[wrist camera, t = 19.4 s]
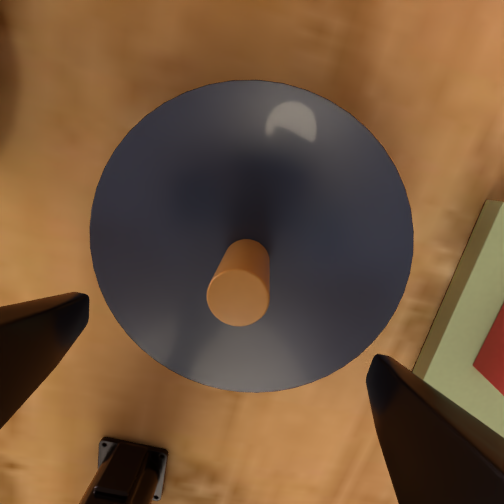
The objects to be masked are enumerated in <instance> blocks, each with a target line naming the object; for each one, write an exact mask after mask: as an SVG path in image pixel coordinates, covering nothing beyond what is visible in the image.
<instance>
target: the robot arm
mask: <svg viewBox="0 0 504 504" xmlns="http://www.w3.org/2000/svg"><path fill="white" fill-rule="evenodd" d="M88 319H89V296H88V295H86V294H83V293H78V292H71V293H66V294H61V295H57V296H52V297H47V298H42V299H37V300H32V301H27V302H22V303H17V304H12V305H8V306H3V307H0V429H1V428H2V427H3V426H4V424H5V423H6V422H7V421H8V420H9V419H10V418H11V417H12V416H13V414H14V413H15V412H16V411H17V410H18V409H19V408H20V407H21V406H22V404H23V403H24V402H25V401H26V400H27V399H28V398H29V397H30V395H31V394H32V393H33V392H34V391H35V390H36V389H37V388H38V387H39V385H40V384H41V383H42V382H43V381H44V380H45V379H46V378H47V377H48V375H49V374H50V373H51V372H52V371H53V370H54V368H55V367H56V366H57V365H58V363H59V362H60V361H61V360H62V358H63V357H64V355H65V354H66V353H67V351H68V350H69V349H70V347H71V346H72V345H73V343H74V342H75V340H76V339H77V338H78V336H79V335H80V334H81V332H82V331H83V330H84V328H85V327H86V325H87V323H88ZM366 385H367V390H368V395H369V399H370V404H371V409H372V414H373V419H374V424H375V428H376V432H377V436H378V439H379V442H380V446H381V449H382V452H383V455H384V458H385V461H386V465H387V468H388V471H389V474H390V477H391V480H392V484H393V487H394V490H395V493H396V496H397V500H398V503H399V504H504V437H502V436H501V435H499V434H498V433H497V432H495V431H494V430H492V429H491V428H490V427H488V426H487V425H485V424H484V423H483V422H481V421H480V420H478V419H477V418H476V417H474V416H473V415H471V414H470V413H469V412H467V411H466V410H464V409H463V408H462V407H460V406H459V405H457V404H456V403H454V402H453V401H452V400H450V399H449V398H447V397H446V396H445V395H443V394H442V393H440V392H439V391H438V390H436V389H435V388H433V387H432V386H431V385H429V384H428V383H426V382H425V381H424V380H422V379H421V378H419V377H418V376H417V375H415V374H414V373H412V372H411V371H410V370H408V369H407V368H405V367H404V366H403V365H401V364H400V363H398V362H397V361H396V360H394V359H393V358H391V357H389V356H385V355H381V354H377V355H375V356H374V358H373V360H372V363H371V365H370V368H369V371H368V373H367V377H366ZM167 460H168V451H167V450H166V449H163V448H158V447H153V446H148V445H143V444H138V443H133V442H129V441H124V440H119V439H114V438H109V437H103V438H102V439H101V441H100V443H99V455H98V471H97V473H96V474H95V476H94V478H93V480H92V481H91V483H90V485H89V487H88V488H87V490H86V492H85V494H84V496H83V497H82V499H81V501H80V503H79V504H151V502H152V500H154V501H159V500H160V499H161V497H162V493H163V486H164V480H165V473H166V466H167Z"/></svg>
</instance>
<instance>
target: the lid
mask: <svg viewBox="0 0 504 504" xmlns="http://www.w3.org/2000/svg"><path fill="white" fill-rule="evenodd" d="M413 233H414V231H413V223H412V215H411V208H410V205H409V201H408V197H407V194H406V190H405V187H404V185H403V183H402V180H401V178H400V176H399V173H398V171H397V169H396V167H395V165H394V164H393V162H392V160H391V159H390V157H389V156H388V154H387V152H386V151H385V149H384V147H383V146H382V145H381V144H380V143H379V142H378V140H377V139H376V138H375V137H374V136H373V135H372V133H371V132H370V131H369V130H368V129H367V128H366V127H365V126H364V125H363V124H361V123H360V122H359V121H358V120H357V119H356V118H355V117H353V116H352V115H351V114H350V113H348V112H347V111H345V110H344V109H342V108H341V107H339V106H338V105H336V104H334V103H333V102H331V101H330V100H328V99H326V98H323V97H321V96H319V95H317V94H315V93H312V92H310V91H308V90H305V89H302V88H298V87H295V86H291V85H287V84H284V83H278V82H270V81H262V80H232V81H227V82H221V83H215V84H209V85H206V86H203V87H200V88H197V89H194V90H190V91H187V92H185V93H183V94H181V95H179V96H177V97H175V98H173V99H171V100H169V101H167V102H165V103H163V104H162V105H161V106H159V107H158V108H156V109H155V110H153V111H152V112H151V113H149V114H148V115H146V116H145V117H144V118H143V119H142V120H141V121H140V122H139V123H138V124H137V125H136V126H135V127H133V128H132V129H131V130H130V131H129V132H128V134H127V135H126V136H125V138H124V139H123V140H122V141H121V143H120V144H119V145H118V146H117V148H116V149H115V151H114V152H113V154H112V156H111V158H110V159H109V161H108V163H107V165H106V166H105V168H104V171H103V173H102V176H101V178H100V181H99V183H98V186H97V188H96V192H95V197H94V201H93V205H92V210H91V220H90V249H91V255H92V261H93V267H94V271H95V274H96V278H97V281H98V284H99V287H100V289H101V292H102V294H103V296H104V298H105V301H106V303H107V305H108V307H109V308H110V310H111V312H112V313H113V315H114V317H115V318H116V320H117V321H118V323H119V324H120V325H121V327H122V328H123V329H124V330H125V332H126V333H127V334H128V336H129V337H130V338H131V339H132V340H133V341H134V342H135V343H136V344H137V345H138V346H139V347H140V348H141V349H142V350H144V351H145V352H146V353H147V354H148V355H150V356H151V357H152V358H153V359H154V360H156V361H157V362H159V363H160V364H162V365H163V366H165V367H167V368H168V369H170V370H171V371H173V372H175V373H177V374H179V375H181V376H183V377H185V378H187V379H190V380H193V381H195V382H198V383H201V384H203V385H207V386H211V387H215V388H218V389H223V390H230V391H237V392H255V393H258V392H273V391H280V390H285V389H291V388H295V387H298V386H302V385H305V384H309V383H312V382H314V381H316V380H319V379H321V378H323V377H326V376H328V375H330V374H331V373H333V372H335V371H337V370H338V369H340V368H342V367H344V366H345V365H346V364H348V363H349V362H351V361H352V360H353V359H355V358H356V357H357V356H359V355H360V354H361V353H362V352H363V351H364V350H365V349H366V348H367V347H368V346H369V345H370V344H371V343H373V341H374V340H375V339H376V338H377V337H378V335H379V334H380V333H381V332H382V330H383V329H384V328H385V327H386V325H387V324H388V322H389V320H390V319H391V317H392V316H393V314H394V312H395V311H396V309H397V306H398V304H399V302H400V300H401V298H402V296H403V293H404V291H405V287H406V284H407V281H408V277H409V274H410V269H411V263H412V256H413Z"/></svg>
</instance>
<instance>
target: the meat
mask: <svg viewBox="0 0 504 504" xmlns="http://www.w3.org/2000/svg"><path fill="white" fill-rule="evenodd" d="M473 366H474V367H475V368H476V369H477V370H478V371H479V372H480V373H481V374H482V375H483V376H484V377H485V378H486V379H487V380H488V381H489V382H490V383H491V384H492V385H493V386H494V387H495V388H496V389H497V390H498V391H499V392H500V393H501V394H502V395H503V396H504V303H503V305H502V307H501V309H500V311H499V313H498V315H497V317H496V319H495V321H494V323H493V325H492V327H491V329H490V331H489V333H488V335H487V337H486V339H485V341H484V343H483V345H482V347H481V349H480V351H479V353H478V355H477V357H476V359H475V361H474V363H473Z"/></svg>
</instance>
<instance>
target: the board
mask: <svg viewBox="0 0 504 504" xmlns="http://www.w3.org/2000/svg"><path fill="white" fill-rule="evenodd" d="M503 303H504V202H501V201H494V200H486V202H485V204H484V206H483V209H482V211H481V213H480V216H479V218H478V220H477V223H476V225H475V227H474V230H473V232H472V234H471V237H470V239H469V241H468V244H467V246H466V248H465V251H464V253H463V255H462V257H461V260H460V262H459V264H458V267H457V269H456V271H455V274H454V276H453V278H452V281H451V283H450V285H449V288H448V290H447V292H446V295H445V297H444V299H443V302H442V304H441V306H440V308H439V311H438V313H437V315H436V318H435V320H434V322H433V325H432V327H431V329H430V332H429V334H428V336H427V339H426V341H425V343H424V346H423V348H422V350H421V353H420V355H419V357H418V360H417V362H416V364H415V366H414V369H413V371H412V373H414V374H415V375H417V376H418V377H419V378H421V379H422V380H424V381H425V382H426V383H428V384H429V385H431V386H432V387H433V388H435V389H436V390H438V391H439V392H440V393H442V394H443V395H445V396H446V397H447V398H449V399H450V400H452V401H453V402H454V403H456V404H457V405H459V406H460V407H462V408H463V409H464V410H466V411H467V412H469V413H470V414H471V415H473V416H474V417H476V418H477V419H478V420H480V421H481V422H483V423H484V424H485V425H487V426H488V427H490V428H491V429H492V430H494V431H495V432H497V433H498V434H499V435H501V436H502V437H504V396H503V395H502V394H501V393H500V392H499V391H498V390H497V389H496V388H495V387H494V386H493V385H492V384H491V383H490V382H489V381H488V380H487V379H486V378H485V377H484V376H483V375H482V374H481V373H480V372H479V371H478V370H477V369H476V368H475V367H474V366H473V363H474V361H475V359H476V357H477V355H478V353H479V351H480V349H481V347H482V345H483V343H484V341H485V339H486V337H487V335H488V333H489V331H490V329H491V327H492V325H493V323H494V321H495V319H496V317H497V315H498V313H499V311H500V309H501V307H502V305H503Z"/></svg>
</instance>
